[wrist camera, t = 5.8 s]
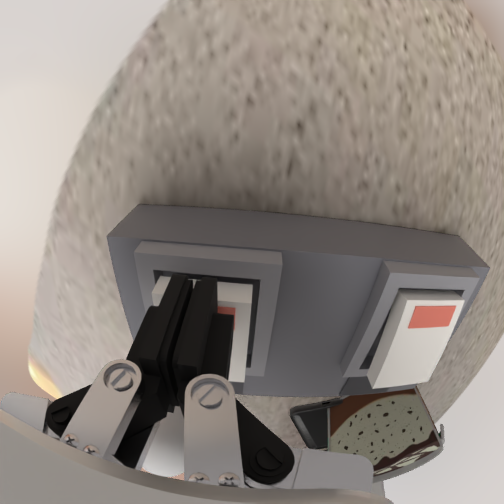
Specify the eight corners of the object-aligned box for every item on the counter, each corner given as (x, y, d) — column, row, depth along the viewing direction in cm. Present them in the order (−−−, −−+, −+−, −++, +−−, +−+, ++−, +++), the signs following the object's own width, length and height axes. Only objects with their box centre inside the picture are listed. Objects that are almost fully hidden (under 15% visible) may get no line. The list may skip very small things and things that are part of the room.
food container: (345, 420, 28) (354, 490, 20) (316, 408, 27) (322, 490, 18) (433, 372, 24) (459, 447, 15) (415, 353, 22) (447, 443, 13)
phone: (309, 450, 33) (288, 413, 26) (309, 444, 34) (287, 405, 27) (361, 439, 31) (361, 398, 24) (360, 433, 32) (359, 389, 25)
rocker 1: (245, 364, 14) (244, 383, 13) (174, 356, 14) (169, 374, 13) (252, 284, 12) (251, 304, 11) (160, 275, 12) (150, 294, 11)
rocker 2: (420, 369, 14) (428, 382, 13) (366, 374, 14) (372, 389, 13) (453, 290, 12) (465, 301, 11) (396, 288, 12) (407, 300, 11)
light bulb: (174, 363, 23) (148, 464, 14) (218, 393, 25) (206, 484, 17) (139, 378, 25) (112, 461, 16) (180, 404, 27) (164, 482, 19)
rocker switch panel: (400, 353, 21) (416, 397, 17) (161, 342, 21) (144, 392, 17) (458, 236, 15) (498, 277, 11) (138, 204, 15) (96, 246, 11)
